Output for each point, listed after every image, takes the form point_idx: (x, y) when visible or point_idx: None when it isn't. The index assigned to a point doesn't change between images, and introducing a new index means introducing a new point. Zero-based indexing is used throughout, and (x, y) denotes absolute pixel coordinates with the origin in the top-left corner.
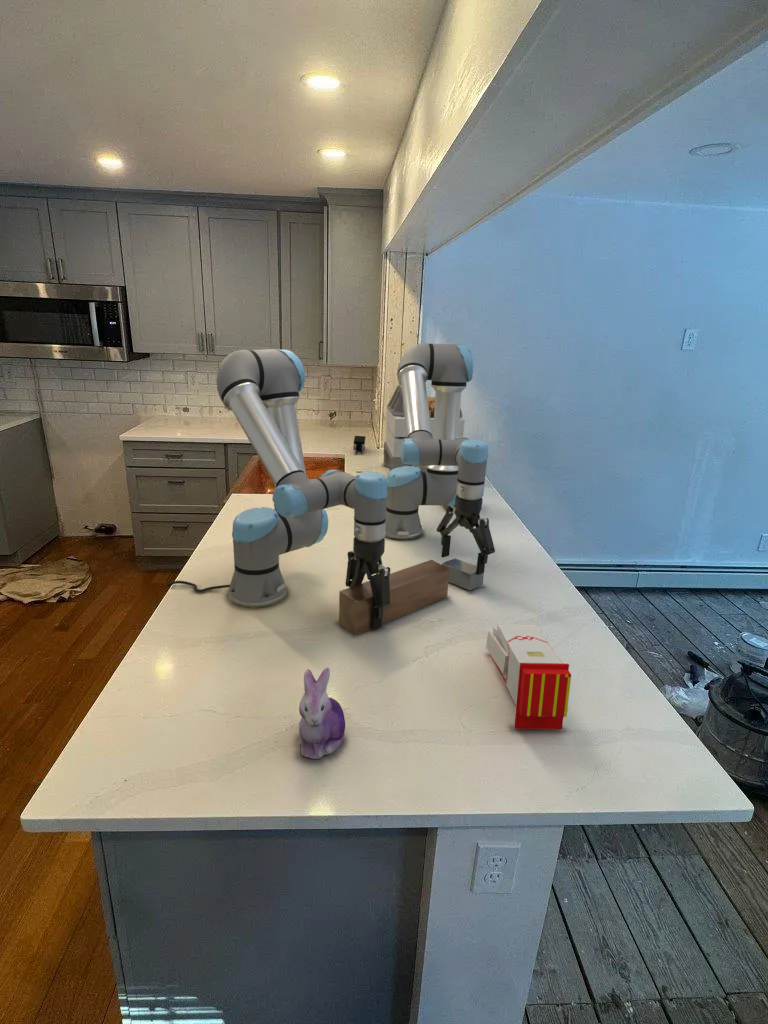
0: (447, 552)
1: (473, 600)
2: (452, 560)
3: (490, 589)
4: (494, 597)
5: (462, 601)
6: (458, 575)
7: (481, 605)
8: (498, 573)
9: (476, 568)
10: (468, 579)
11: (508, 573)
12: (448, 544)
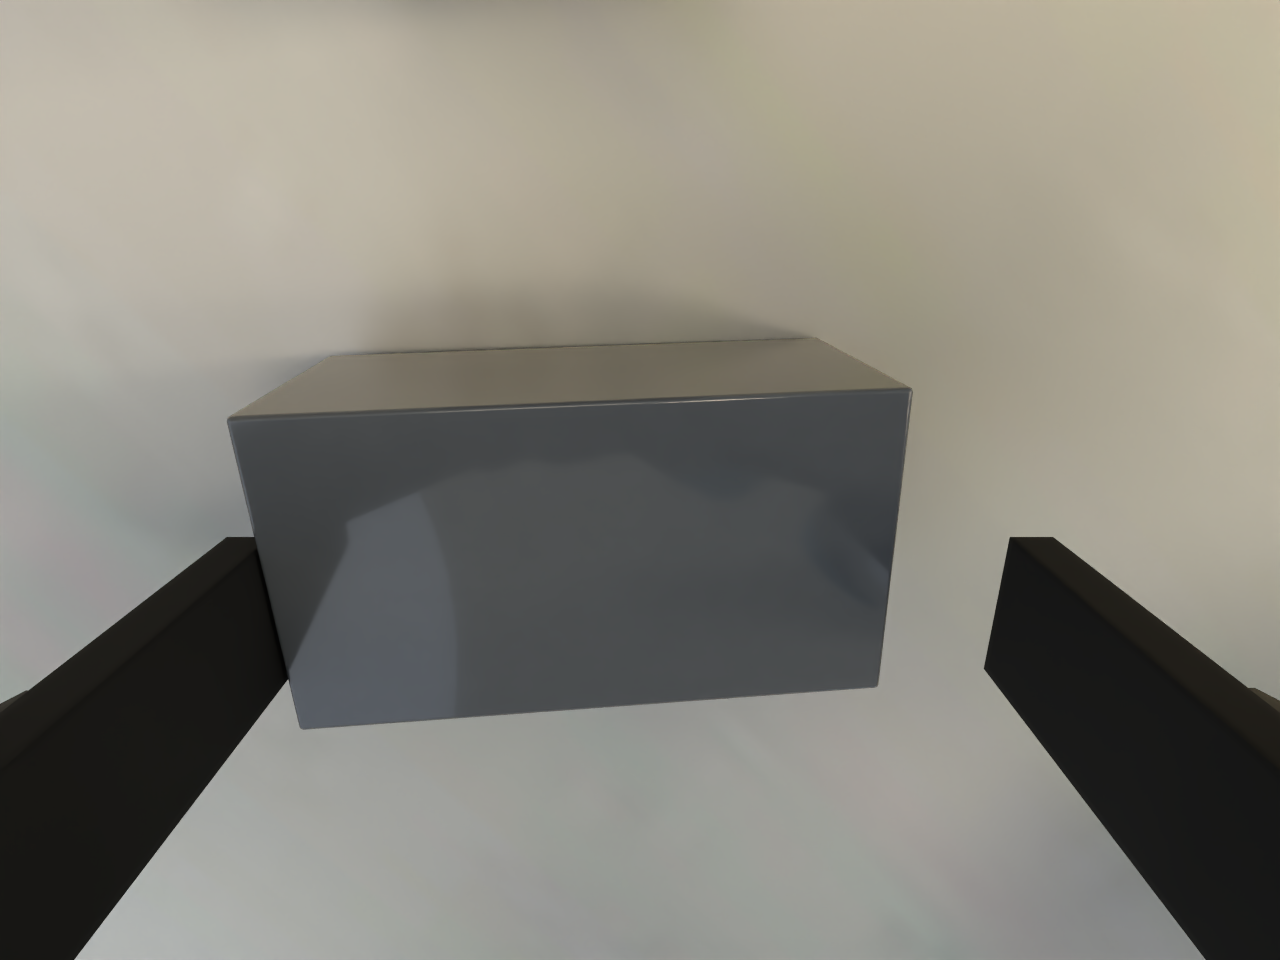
0: (1028, 667)
1: (159, 236)
2: (849, 601)
3: None
4: (122, 500)
5: (196, 84)
6: (516, 379)
7: (5, 218)
8: (524, 885)
9: (369, 655)
10: (308, 388)
11: (473, 942)
12: (1127, 791)
